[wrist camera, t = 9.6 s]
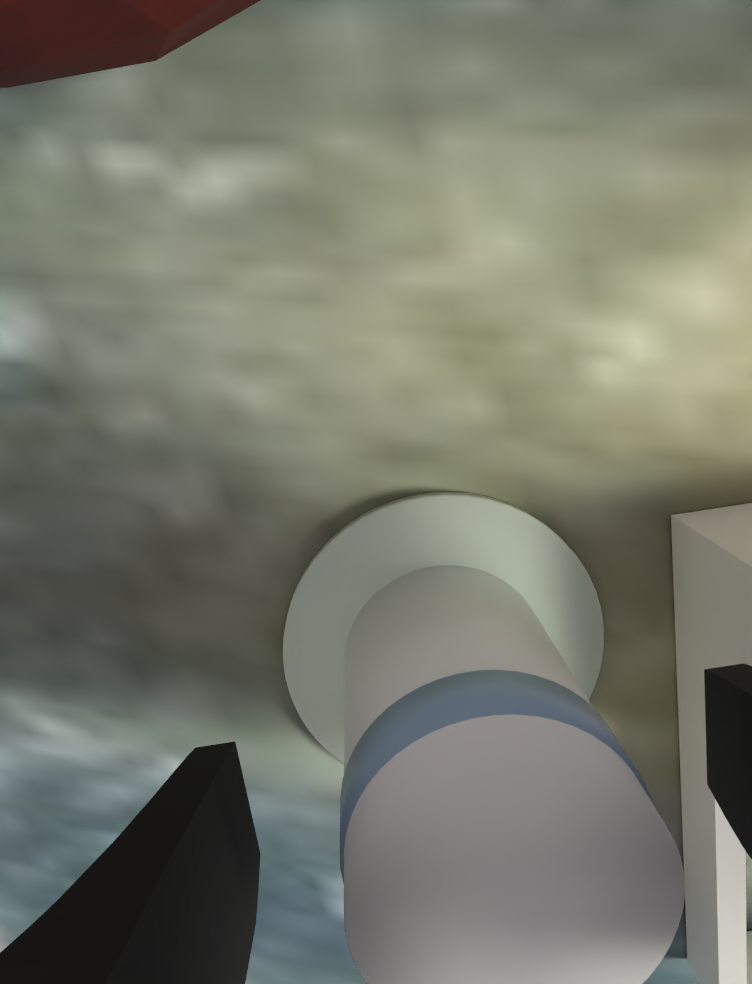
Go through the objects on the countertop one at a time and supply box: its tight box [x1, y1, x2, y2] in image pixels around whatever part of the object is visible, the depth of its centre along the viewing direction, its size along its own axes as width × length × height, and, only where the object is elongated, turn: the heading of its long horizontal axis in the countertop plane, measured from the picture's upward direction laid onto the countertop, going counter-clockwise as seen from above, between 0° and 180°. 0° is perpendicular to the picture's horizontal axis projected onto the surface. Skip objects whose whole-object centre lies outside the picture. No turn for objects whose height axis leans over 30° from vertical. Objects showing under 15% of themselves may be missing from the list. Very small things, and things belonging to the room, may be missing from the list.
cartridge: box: [340, 565, 685, 984], centre depth 11 cm, size 4×4×6 cm
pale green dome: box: [283, 492, 604, 764], centre depth 14 cm, size 6×6×1 cm
